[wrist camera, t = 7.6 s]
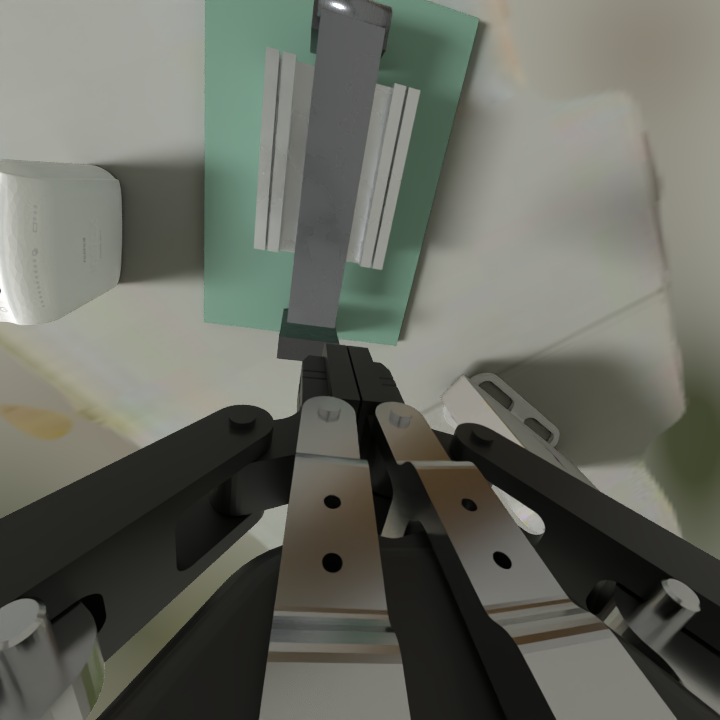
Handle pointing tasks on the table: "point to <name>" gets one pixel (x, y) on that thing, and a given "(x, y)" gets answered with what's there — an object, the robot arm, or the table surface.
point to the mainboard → (242, 149)
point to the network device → (506, 429)
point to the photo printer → (56, 238)
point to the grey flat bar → (335, 152)
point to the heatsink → (286, 165)
